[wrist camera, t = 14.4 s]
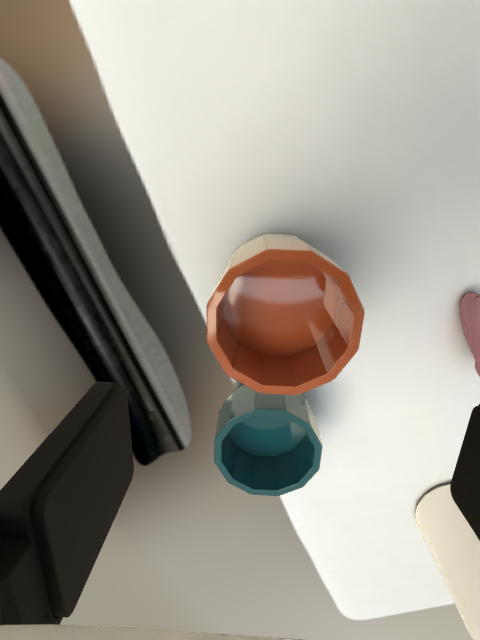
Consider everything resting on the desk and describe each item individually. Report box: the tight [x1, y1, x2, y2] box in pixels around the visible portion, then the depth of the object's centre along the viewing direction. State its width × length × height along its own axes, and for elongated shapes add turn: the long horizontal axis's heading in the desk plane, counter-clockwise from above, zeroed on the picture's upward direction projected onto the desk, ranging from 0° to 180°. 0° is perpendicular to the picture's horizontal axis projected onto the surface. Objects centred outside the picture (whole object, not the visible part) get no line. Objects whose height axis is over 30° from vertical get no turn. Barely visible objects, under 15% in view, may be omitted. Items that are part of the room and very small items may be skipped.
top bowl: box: [214, 385, 322, 496], centre depth 26 cm, size 7×7×5 cm
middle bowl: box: [207, 239, 364, 395], centre depth 19 cm, size 7×7×5 cm
